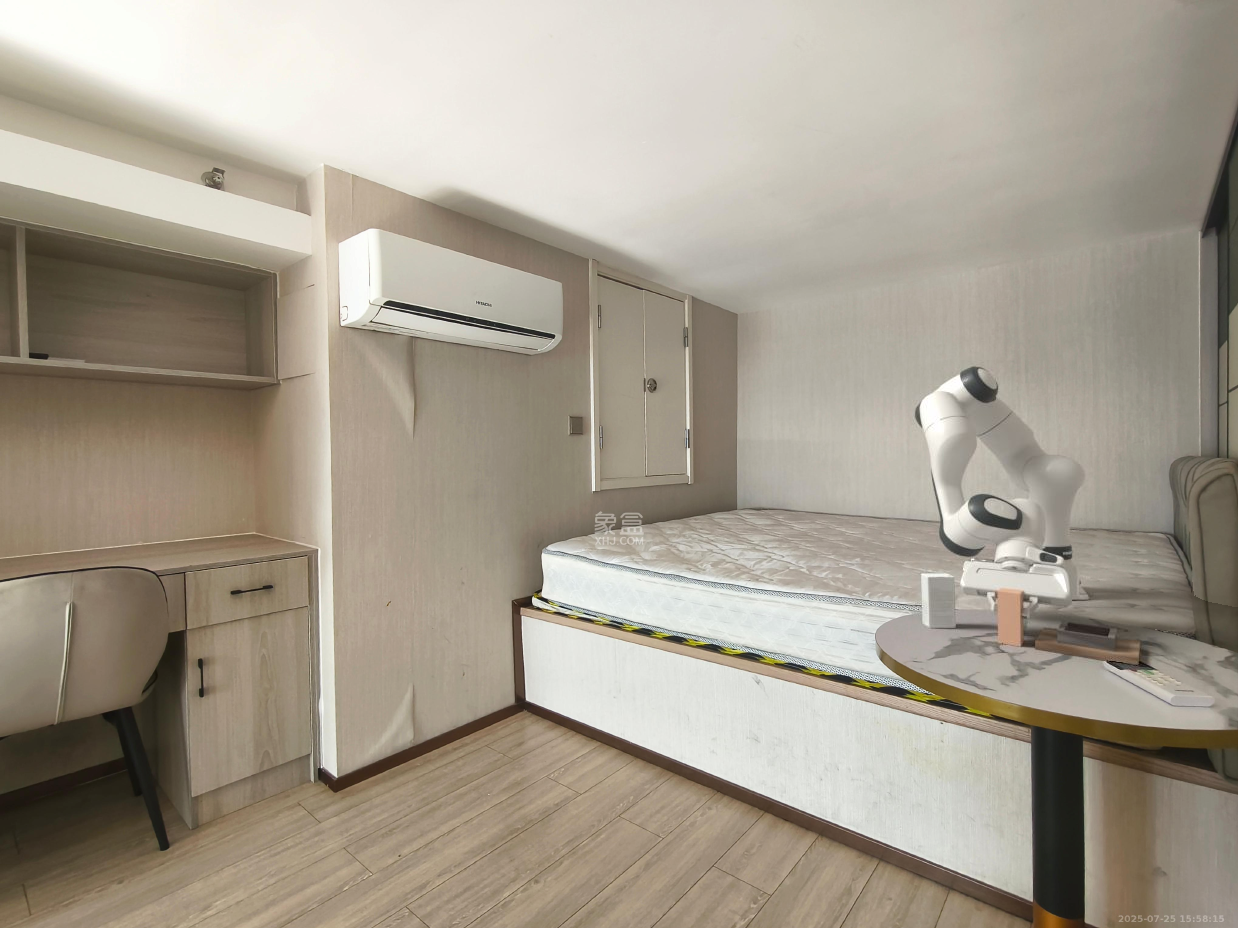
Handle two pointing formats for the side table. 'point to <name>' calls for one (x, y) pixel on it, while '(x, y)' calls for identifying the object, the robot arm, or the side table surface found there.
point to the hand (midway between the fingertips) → (1010, 615)
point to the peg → (1010, 617)
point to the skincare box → (938, 600)
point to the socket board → (1088, 642)
